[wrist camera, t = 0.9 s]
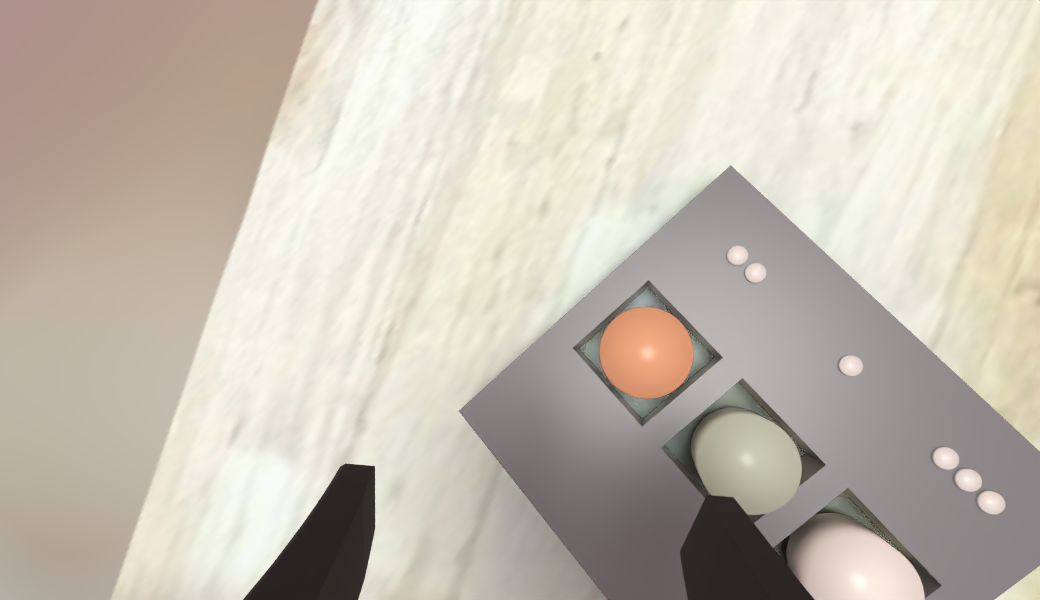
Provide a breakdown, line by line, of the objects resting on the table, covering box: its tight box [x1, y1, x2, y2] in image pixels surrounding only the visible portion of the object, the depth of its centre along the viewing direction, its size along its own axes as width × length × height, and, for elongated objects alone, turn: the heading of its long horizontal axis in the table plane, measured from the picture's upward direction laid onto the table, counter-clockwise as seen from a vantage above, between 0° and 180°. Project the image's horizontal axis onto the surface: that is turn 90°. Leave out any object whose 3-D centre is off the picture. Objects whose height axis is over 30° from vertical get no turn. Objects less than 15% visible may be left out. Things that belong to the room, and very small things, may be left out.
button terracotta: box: [600, 307, 693, 399], centre depth 22 cm, size 4×4×3 cm
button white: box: [787, 513, 925, 600], centre depth 20 cm, size 4×4×3 cm
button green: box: [691, 407, 802, 515], centre depth 21 cm, size 4×4×3 cm
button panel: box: [459, 166, 1040, 600], centre depth 23 cm, size 18×16×3 cm
